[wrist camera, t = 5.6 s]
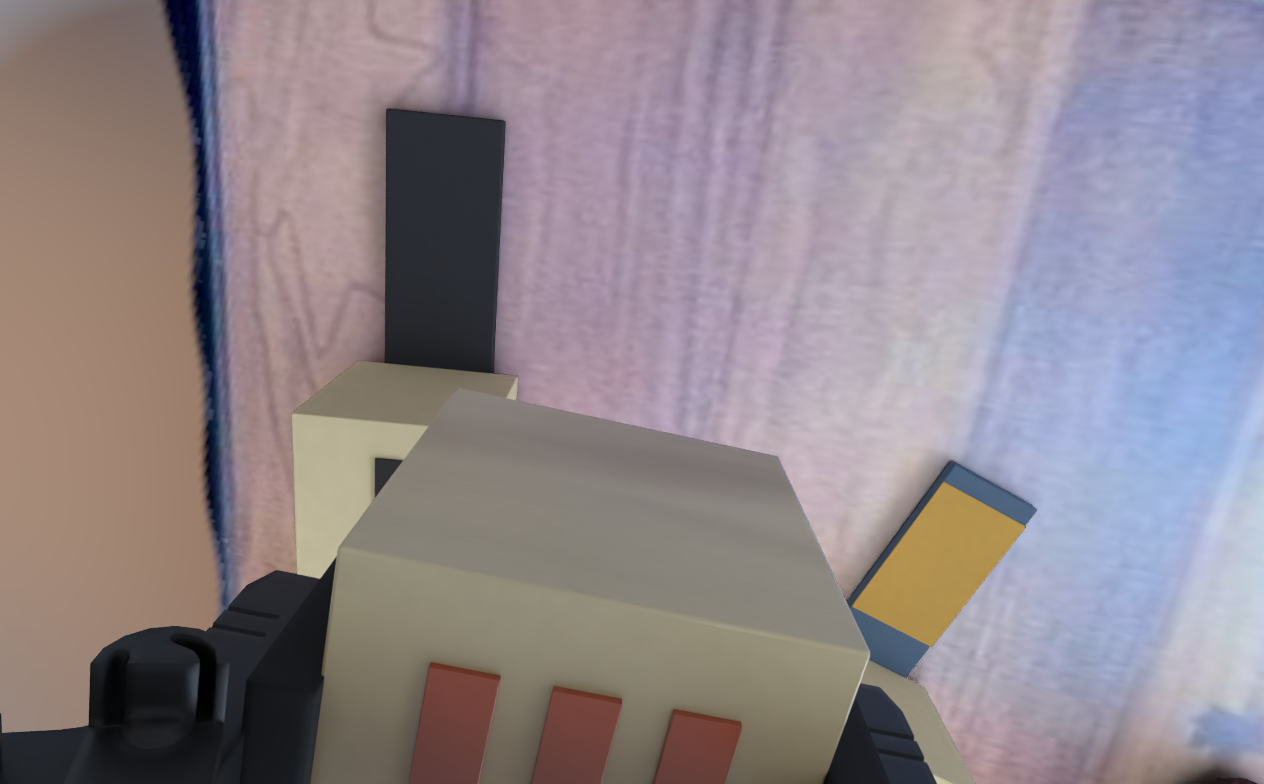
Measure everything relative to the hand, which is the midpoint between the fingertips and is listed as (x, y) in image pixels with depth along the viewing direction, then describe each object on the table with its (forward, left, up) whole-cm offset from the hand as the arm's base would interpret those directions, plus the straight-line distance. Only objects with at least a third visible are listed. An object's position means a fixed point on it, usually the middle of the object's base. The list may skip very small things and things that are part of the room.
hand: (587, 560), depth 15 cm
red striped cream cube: (0, 0, 0) cm, 0 cm away
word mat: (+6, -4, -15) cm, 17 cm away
